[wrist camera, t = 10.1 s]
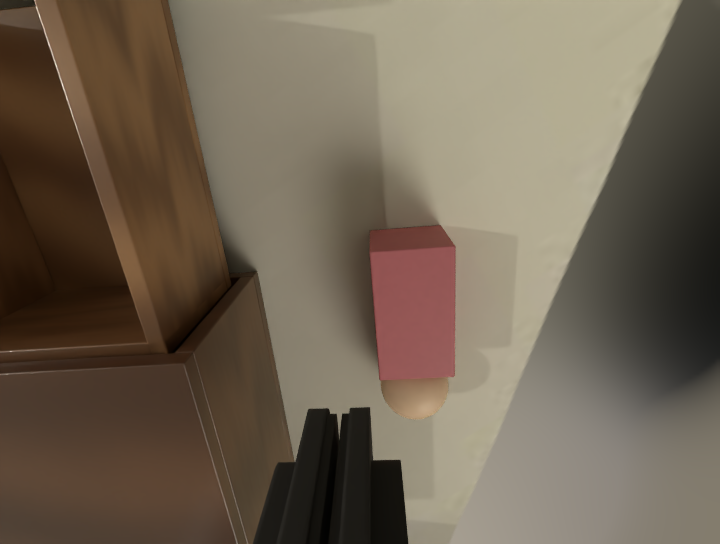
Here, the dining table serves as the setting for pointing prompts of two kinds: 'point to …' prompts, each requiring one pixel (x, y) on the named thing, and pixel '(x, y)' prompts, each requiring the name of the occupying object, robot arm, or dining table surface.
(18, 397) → the cabinet
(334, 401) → the dining table surface
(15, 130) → the drawer
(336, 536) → the robot arm
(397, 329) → the pink block on ball
